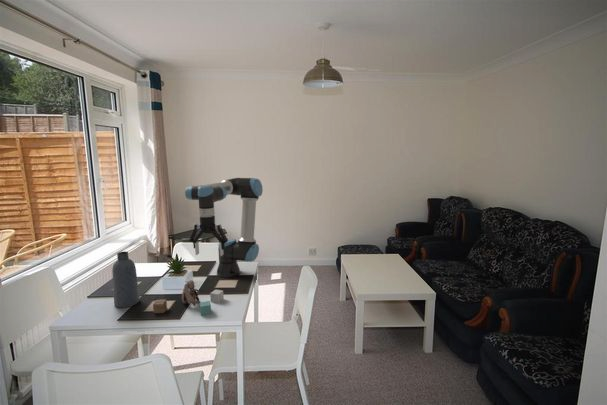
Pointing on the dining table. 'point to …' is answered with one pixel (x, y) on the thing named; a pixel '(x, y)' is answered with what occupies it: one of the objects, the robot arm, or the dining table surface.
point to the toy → (190, 293)
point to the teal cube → (205, 308)
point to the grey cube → (216, 296)
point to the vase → (125, 281)
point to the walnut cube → (159, 306)
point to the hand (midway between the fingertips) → (209, 254)
